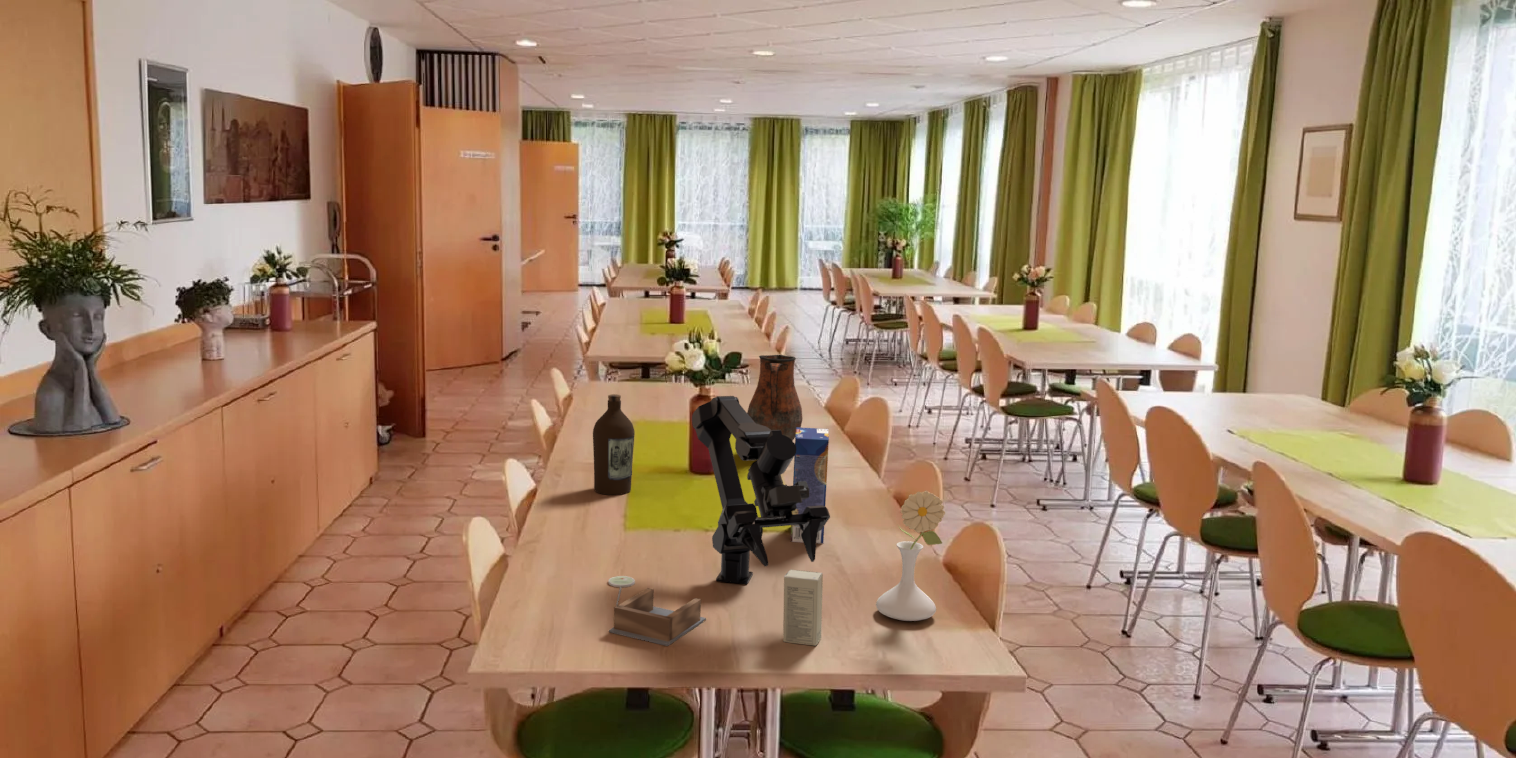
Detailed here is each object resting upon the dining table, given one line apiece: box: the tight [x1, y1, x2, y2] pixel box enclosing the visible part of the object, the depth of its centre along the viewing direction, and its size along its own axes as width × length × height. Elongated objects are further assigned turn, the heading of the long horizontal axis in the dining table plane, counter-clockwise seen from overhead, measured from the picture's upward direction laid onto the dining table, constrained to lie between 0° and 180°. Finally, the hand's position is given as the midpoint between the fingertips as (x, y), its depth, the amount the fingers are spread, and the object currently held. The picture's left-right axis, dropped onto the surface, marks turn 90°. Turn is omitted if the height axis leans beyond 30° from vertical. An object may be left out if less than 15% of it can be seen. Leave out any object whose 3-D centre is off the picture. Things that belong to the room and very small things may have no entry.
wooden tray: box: [613, 587, 702, 642], centre depth 206 cm, size 12×11×4 cm
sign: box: [607, 575, 636, 606], centre depth 223 cm, size 5×1×15 cm
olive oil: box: [592, 393, 635, 496], centre depth 294 cm, size 11×11×25 cm
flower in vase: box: [875, 490, 946, 622], centre depth 214 cm, size 13×11×25 cm
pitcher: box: [746, 354, 803, 442], centre depth 337 cm, size 17×21×30 cm
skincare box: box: [782, 569, 824, 646], centre depth 202 cm, size 6×4×12 cm
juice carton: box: [789, 427, 830, 544], centre depth 263 cm, size 12×8×24 cm, turn 177°
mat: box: [608, 605, 707, 647], centre depth 207 cm, size 14×12×1 cm
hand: (790, 563), depth 207 cm, fingers open, 9 cm apart
